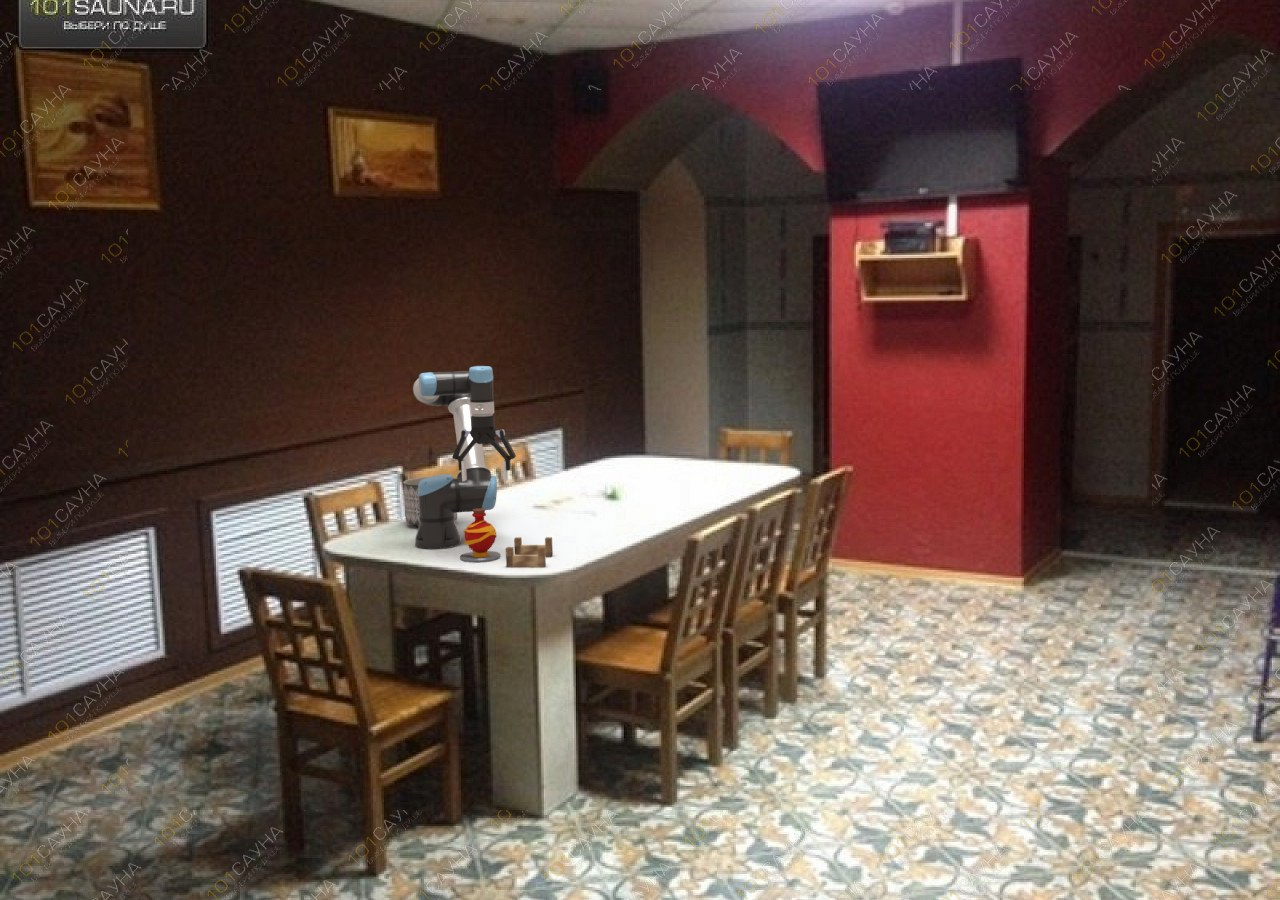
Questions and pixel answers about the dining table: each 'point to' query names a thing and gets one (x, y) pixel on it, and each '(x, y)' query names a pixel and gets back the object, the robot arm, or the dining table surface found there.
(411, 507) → the planter
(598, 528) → the dining table surface
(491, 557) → the coaster
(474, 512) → the potion bottle
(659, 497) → the dining table surface
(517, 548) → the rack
